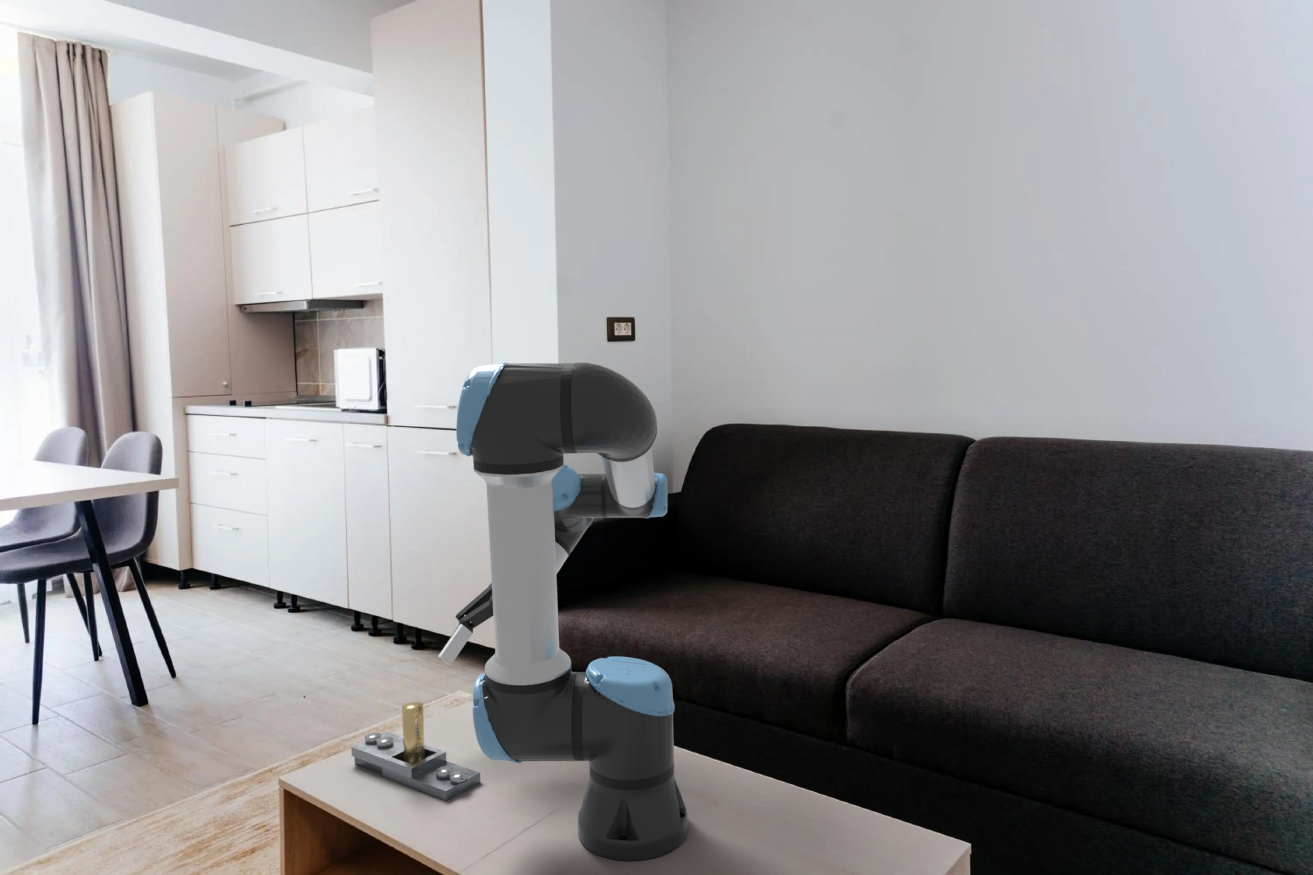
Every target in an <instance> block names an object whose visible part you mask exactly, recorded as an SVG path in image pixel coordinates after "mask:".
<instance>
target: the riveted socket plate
mask: <svg viewBox="0 0 1313 875" xmlns="http://www.w3.org/2000/svg"><path fill="white" fill-rule="evenodd" d="M424 746H425V759H423V760H421V761H419V762H417V763H415V764H413V765H411V764H408V763H406V762H404V747H403V736H402V735H398V734H395V733H392V732H388V731H385V732H382V733H380V732H371V733H367V734H366V735H365V736H364V741H361V742H358V743H357V744H355V745H352V746H351V748H350V750H351V757H353V758H354V764H355V765H357V766H360V767H362V768H365V769H367V770H371V771H373V772H376V773H378V774H381V776H382V778H385V779H388V780H390V781H393V782H396V783H399V784H401V785H404V786H407V787H409V788H411V789H413V790H416V791H420V792H422V793H425V794H427V795H430V796H432V797H434V798H437V799H440V800H442V801H445V802H447V801H448V800H450V799H453V798H454V797H456V796H457V795H459V794H461V793H463V792H465V791H467V790H468V789H470V788H472V787H474V786H476V785H477V784H480V783H481V772H479V771H476V770H474V769H471V768H468V767H465V766H462V765H459V764H456V763H453V762H450V761H448V760H447V751H445V750H442V749H438V748H435V747H433V746H430V745H427V744H424Z"/></svg>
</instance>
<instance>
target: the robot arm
mask: <svg viewBox="0 0 1313 875" xmlns="http://www.w3.org/2000/svg"><path fill="white" fill-rule="evenodd" d="M455 428H456V431H455V432H456V441H457V446H458V447H457V448H458V451H459V453H460V454H462V455H463V456H464V455H465V456H466V457H471V456H472V460H473V472H474V473H476V475H478V477H481V479H483V480H484V481H485V483H486V500H487V518H488V519H487V520H488V522H487V523H488V536H489V538H488V539H489V556H490V557H489V558H490V573H491V574H490V575H491V582H490V584H489V585H488V586H487V587H486V589H484V590H482V592H481V593H480V594H478V595H477V596H476V597H474V599H473V600H472V601H470V602H469V603H468V604H467V605H466V606H464V607H463V608H462V609H461V610H460V611H459V612H457V614H455V619H457V621H458V625H457V627H456V629H455V630H454V631H453V633H452V635H451V636H450V637H449V640H447V643H446V644H445V645H444V647H443V649H441V651H440V653H439V654H438V655H437V657H438V658H439V659H441V661H443V662H444V663H445V664H446V665H448V666H452V664H453V663H454V661H455V660H456V658H457V657H458V655H459V654H460V652H461V651H462V649H463V648H464V646H466V643H467V642H468V641H469V639H470V638H471V636H472V635H473V633H474V629H475V628H476V627H478V626H480V625H481V624H482V623H484V622H486V621H488V620H489V619H491V618H492V617H493V631H494V632H493V633H494V649H495V652H494V654H493V655H492V656H491V657H490V658H489V659H488V660H487V662H486V663H485V665H484V672H483V673H480V674H479V675H478V676H477V678H476V680H475V681H474V686H473V692H472V703H473V707H472V719H473V728H474V733H475V736H476V741H477V743H478V746H479V748H480V750H481V752H482V753H483V754H484V755H485V756H486V757H487V758H488V759H490V760H492V761H502V762H503V761H504V762H512V763H515V764H519V763H522V762H589V763H588V764H589V779H588V783H587V786H586V790H585V793H584V796H583V800H582V803H581V808H580V810H579V812H578V817H577V833H578V834H577V835H578V838H579V841H580V842H581V844H582V845H583V846H584V847H585V848H586V849H587V850H589V851H590V852H592V853H594V854H596V855H598V856H602V857H605V858H607V859H612V860H620V861H639V860H641V861H642V860H646V859H653V858H656V857H659V856H662V855H665V854H668V853H670V852H672V851H673V850H675V849H676V848H678V847H679V846H681V844H682V843H683V842H684V841H685V839H686V838H687V835H688V833H689V832H688V830H689V828H688V812H687V808H686V805H685V802H684V800H683V797H682V794H681V791H680V788H679V784H678V783H677V779H676V776H675V753H674V752H675V747H674V745H675V743H674V713H675V707H676V706H675V702H674V698H673V696H674V694H673V684H672V683H673V682H672V680H671V678H670V675H669V674H668V673H667V672H666V671H665V670H664V669H663V668H661V667H660V666H658V665H657V664H655V663H653V662H650V661H648V660H644V659H640V658H635V657H628V656H607V657H606V658H605V657H604V658H603V657H600V658H597V659H595V660H592V661H591V662H590V663H589V664H588V666H587V668H586V670H585V671H572V660H571V658H570V656H569V655H568V653H566V652H565V651H564V650H562V649H561V648H560V634H559V609H558V606H559V605H558V585H557V584H558V583H557V582H558V580H557V574H558V572H560V570H561V568H562V567H563V566H564V563H565V562H566V560H567V559H568V558H569V557H570V554H571V553H572V552H573V551H574V549H575V547H576V546H577V545H578V543H579V541H580V540H581V539H582V537H583V535H584V534H585V532H587V530H588V528H589V527H591V525H592V523H593V520H594V519H599V518H600V519H607V518H614V519H615V518H617V519H619V518H621V519H622V518H623V519H624V518H626V519H627V518H630V519H631V518H634V519H635V518H637V519H639V518H640V519H642V518H643V519H649V518H659V517H660V518H661V517H664V516H666V515H667V513H668V478H667V477H668V476H666V475H665V473H662V472H661V473H659V472H655V470H654V469H655V468H654V461H653V458H654V457H653V448H652V447H653V445H654V444H655V441H656V439H657V434H658V421H657V415H656V411H655V409H654V407H653V405H652V403H651V401H650V399H649V398H648V397H647V395H646V394H645V393H644V392H643V391H642V390H641V388H640V387H639V386H637V385H636V384H635V383H633V382H632V381H631V380H630V379H628V378H627V377H626V376H623V375H622V374H620V373H619V372H617V371H615V370H614V369H613V370H612V369H611V368H609V367H606V366H602V365H600V364H595V363H590V362H573V363H566V362H565V363H562V362H560V363H555V362H554V363H551V362H550V363H543V362H542V363H540V362H539V363H538V362H537V363H535V362H534V363H533V362H532V363H531V362H530V363H515V362H514V363H509V362H504V363H497V364H496V363H495V364H486V365H485V364H484V365H479V366H477V367H474V368H473V369H472V370H471V371H470V372H469V373H468V375H467V376H466V378H465V379H464V382H463V385H462V389H461V393H460V396H459V400H458V407H457V414H456V427H455ZM565 454H566V455H567V454H597V455H599V456H600V457H601V461H602V464H603V465H602V466H603V469H604V472H605V473H577V471H576V469H574V468H573V467H572V466H569V465H566V464H565V463H564V462H565V460H564V455H565Z"/></svg>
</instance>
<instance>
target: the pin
mask: <svg viewBox="0 0 1313 875" xmlns="http://www.w3.org/2000/svg"><path fill="white" fill-rule="evenodd" d="M401 714H402V715H401V716H402V717H401V718H402V737H403V747H404V762H406V763H408V764H411V765H413V764H415V763H417V762H419V761H421V760H423V759H425V746H424V745H425V721H424V704H423V702H420V701H409V702H408V703H407V702H406V703H404V704H402V706H401Z"/></svg>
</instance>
